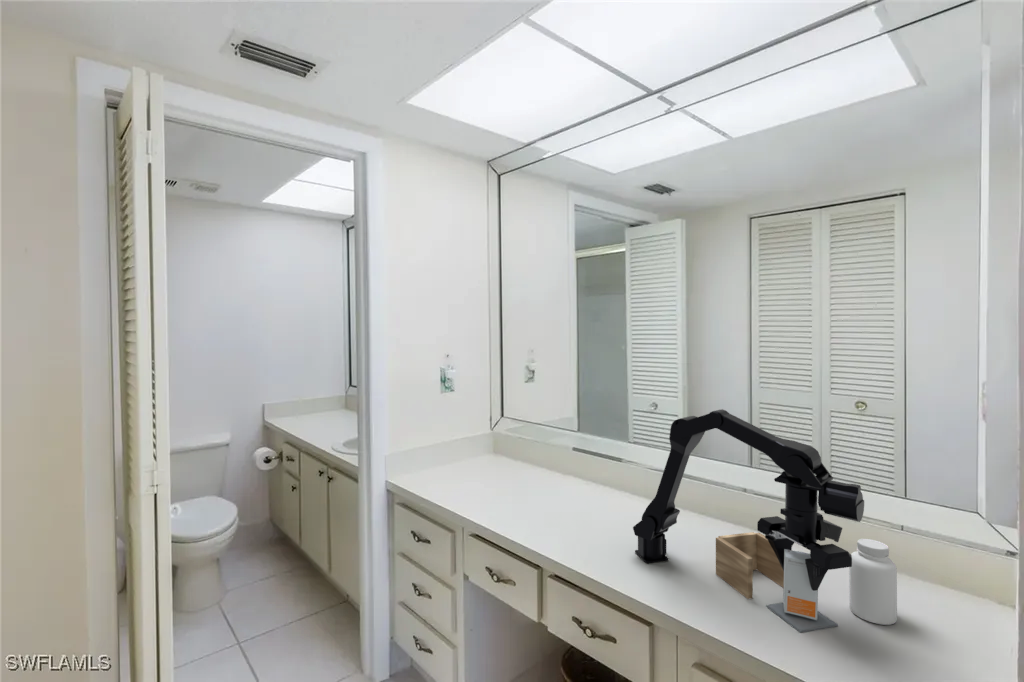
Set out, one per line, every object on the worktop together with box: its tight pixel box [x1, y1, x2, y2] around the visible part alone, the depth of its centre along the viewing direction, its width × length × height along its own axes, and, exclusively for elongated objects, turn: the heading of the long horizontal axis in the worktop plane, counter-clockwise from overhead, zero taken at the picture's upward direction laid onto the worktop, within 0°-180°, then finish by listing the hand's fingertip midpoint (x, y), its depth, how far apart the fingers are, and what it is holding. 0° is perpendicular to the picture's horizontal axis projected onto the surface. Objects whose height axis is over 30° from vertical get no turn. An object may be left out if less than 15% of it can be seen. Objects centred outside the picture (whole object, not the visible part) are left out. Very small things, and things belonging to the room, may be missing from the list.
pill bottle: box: [848, 538, 898, 626], centre depth 99 cm, size 8×8×15 cm
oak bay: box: [715, 531, 784, 600], centre depth 112 cm, size 12×12×9 cm
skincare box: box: [782, 549, 819, 620], centre depth 99 cm, size 6×4×12 cm
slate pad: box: [765, 602, 838, 633], centre depth 99 cm, size 9×9×1 cm
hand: (800, 581), depth 99 cm, fingers closed on skincare box, 7 cm apart
